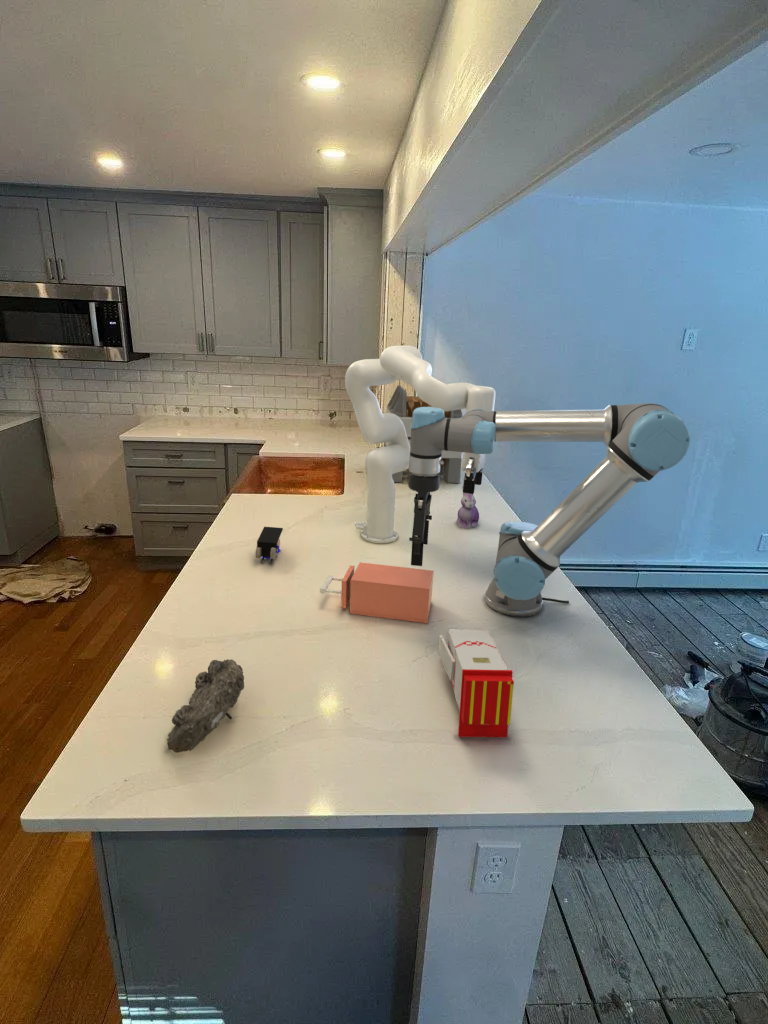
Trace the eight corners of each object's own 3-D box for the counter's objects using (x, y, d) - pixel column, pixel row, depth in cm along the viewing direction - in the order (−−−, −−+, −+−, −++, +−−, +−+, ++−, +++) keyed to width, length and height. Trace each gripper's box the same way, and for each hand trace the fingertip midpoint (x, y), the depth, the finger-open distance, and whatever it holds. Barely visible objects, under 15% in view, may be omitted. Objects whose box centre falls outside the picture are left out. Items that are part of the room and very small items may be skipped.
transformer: (382, 463, 289) (386, 382, 275) (445, 464, 293) (451, 384, 279) (390, 482, 257) (394, 392, 243) (460, 483, 261) (468, 394, 247)
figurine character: (277, 570, 171) (284, 545, 185) (276, 548, 168) (283, 525, 181) (254, 569, 171) (263, 545, 184) (253, 548, 168) (262, 524, 181)
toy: (488, 613, 130) (523, 677, 101) (484, 667, 133) (517, 744, 104) (435, 612, 130) (455, 676, 101) (432, 666, 133) (451, 743, 103)
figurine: (465, 530, 205) (468, 491, 200) (449, 521, 213) (452, 483, 208) (486, 527, 209) (490, 488, 204) (469, 518, 218) (473, 480, 213)
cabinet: (349, 613, 147) (350, 579, 143) (358, 594, 157) (359, 562, 153) (427, 623, 144) (429, 588, 140) (431, 603, 154) (433, 570, 150)
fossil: (192, 660, 117) (244, 628, 112) (224, 691, 120) (276, 661, 115) (142, 746, 98) (202, 712, 93) (182, 779, 101) (242, 748, 96)
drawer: (318, 605, 148) (318, 578, 146) (328, 588, 157) (328, 562, 154) (413, 617, 145) (415, 589, 142) (417, 599, 153) (419, 573, 151)
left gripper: (471, 424, 169) (466, 479, 175) (457, 435, 154) (452, 494, 160) (496, 427, 167) (490, 482, 173) (484, 438, 152) (478, 498, 157)
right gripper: (435, 489, 124) (429, 576, 131) (443, 461, 147) (438, 537, 154) (401, 486, 125) (397, 573, 132) (414, 459, 148) (410, 534, 155)
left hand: (472, 488), depth 166 cm, fingers open, 9 cm apart
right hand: (419, 554), depth 143 cm, fingers open, 13 cm apart
